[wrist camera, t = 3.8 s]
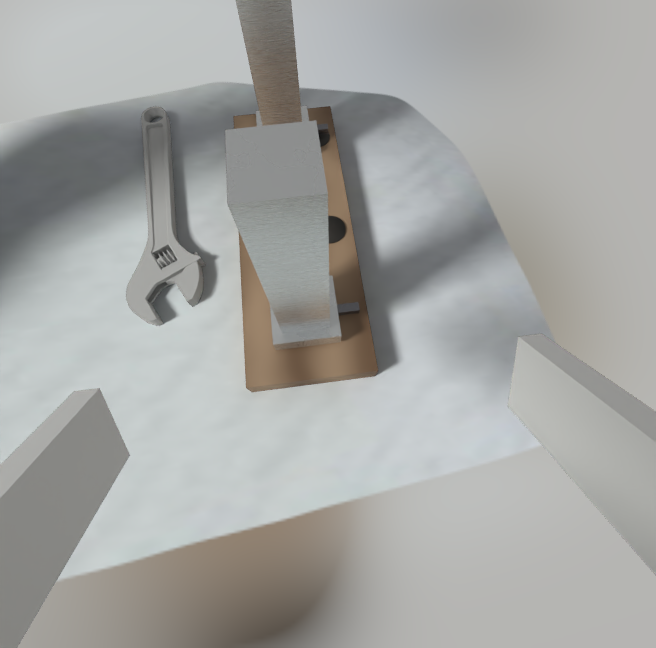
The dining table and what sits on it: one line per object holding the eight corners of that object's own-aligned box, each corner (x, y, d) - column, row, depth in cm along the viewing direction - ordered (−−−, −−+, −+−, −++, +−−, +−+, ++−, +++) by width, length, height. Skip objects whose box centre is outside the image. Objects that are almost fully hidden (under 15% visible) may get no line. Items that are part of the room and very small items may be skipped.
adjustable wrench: (147, 120, 39) (139, 106, 37) (204, 114, 39) (199, 99, 37) (134, 328, 30) (122, 320, 28) (208, 318, 30) (201, 310, 29)
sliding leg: (276, 350, 26) (205, 225, 12) (271, 291, 28) (205, 117, 13) (363, 339, 27) (402, 202, 12) (353, 281, 28) (376, 99, 14)
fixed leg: (261, 162, 33) (203, -76, 18) (258, 124, 35) (203, -123, 20) (331, 155, 33) (330, -87, 18) (324, 117, 35) (319, -132, 20)
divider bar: (252, 392, 28) (245, 387, 26) (238, 133, 37) (233, 114, 35) (375, 376, 28) (378, 370, 26) (330, 123, 38) (330, 104, 35)
